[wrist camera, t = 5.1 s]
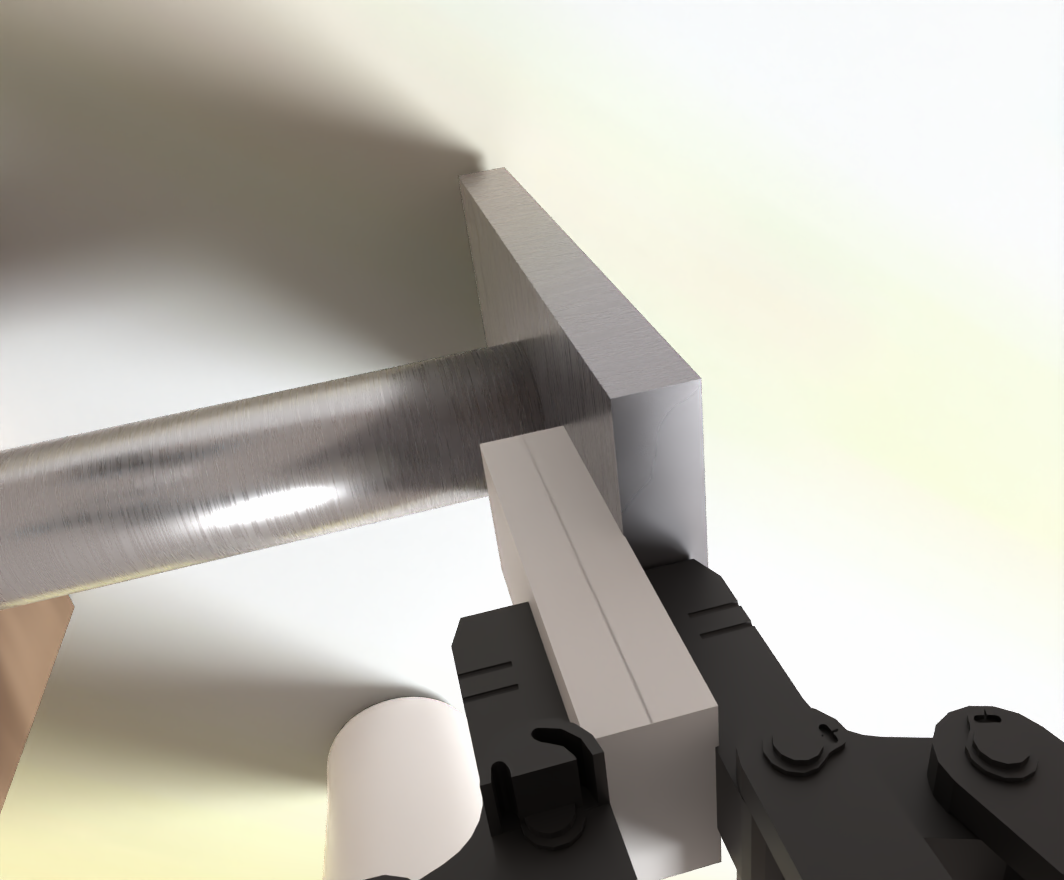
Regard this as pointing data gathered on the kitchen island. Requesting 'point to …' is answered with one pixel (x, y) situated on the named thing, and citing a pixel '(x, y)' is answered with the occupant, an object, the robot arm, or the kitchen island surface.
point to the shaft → (382, 433)
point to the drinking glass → (400, 791)
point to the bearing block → (26, 673)
